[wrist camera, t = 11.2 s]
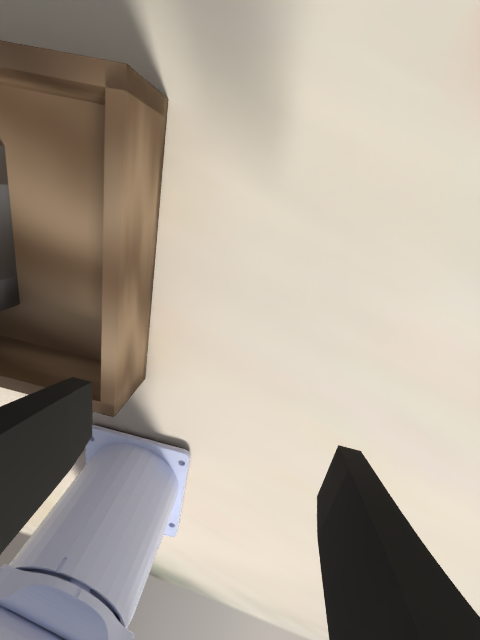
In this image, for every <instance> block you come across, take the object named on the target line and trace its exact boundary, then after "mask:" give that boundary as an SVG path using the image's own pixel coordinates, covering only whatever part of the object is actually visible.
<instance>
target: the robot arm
mask: <svg viewBox="0 0 480 640" xmlns="http://www.w3.org/2000/svg"><path fill="white" fill-rule="evenodd" d="M85 447H86V465H85V467H84V468H83V469H82V471H81V472H80V473H79V475H78V476H77V477H76V478H75V480H74V481H73V482H72V484H71V485H70V486H69V488H68V489H67V490H66V491H65V493H64V494H63V495H62V497H61V498H60V499H59V501H58V502H57V503H56V504H55V506H54V507H53V508H52V510H51V511H50V512H49V514H48V515H47V516H46V517H45V519H44V520H43V521H42V523H41V524H40V525H39V527H38V528H37V529H36V530H35V532H34V533H33V534H32V536H31V537H30V538H29V540H28V541H27V542H26V544H25V545H24V546H23V547H22V549H21V550H20V551H19V553H18V554H17V555H16V557H15V558H14V559H13V560H12V562H11V563H10V564H9V565H7V564H4V565H2V567H1V568H0V640H133V639H134V636H135V635H134V633H133V632H131V631H130V630H128V629H127V628H128V625H129V623H130V621H131V619H132V617H133V615H134V612H135V610H136V607H137V604H138V602H139V599H140V596H141V594H142V591H143V588H144V586H145V583H146V580H147V578H148V575H149V572H150V570H151V567H152V564H153V562H154V559H155V556H156V554H157V551H158V548H159V546H160V543H161V540H162V538H163V535H167V536H170V537H174V536H176V534H177V531H178V527H179V521H180V515H181V509H182V503H183V497H184V492H185V486H186V480H187V474H188V468H189V462H190V457H191V455H190V452H189V451H187V450H185V449H182V448H178V447H175V446H171V445H167V444H163V443H160V442H156V441H152V440H149V439H145V438H141V437H137V436H134V435H130V434H126V433H122V432H119V431H115V430H111V429H108V428H104V427H100V426H96V425H92V382H90V381H86V380H82V379H78V378H74V377H72V378H69V379H66V380H64V381H61V382H58V383H56V384H54V385H51V386H49V387H46V388H44V389H42V390H39V391H37V392H34V393H32V394H30V395H27V396H25V397H23V398H20V399H18V400H15V401H13V402H11V403H8V404H6V405H3V406H1V407H0V554H1V553H2V552H3V551H4V549H5V548H6V547H7V546H8V544H9V543H10V542H11V541H12V540H13V538H14V537H15V536H16V535H17V534H18V532H19V531H20V530H21V529H22V528H23V526H24V525H25V524H26V523H27V522H28V520H29V519H30V518H31V517H32V516H33V514H34V513H35V512H36V511H37V510H38V508H39V507H40V506H41V505H42V504H43V502H44V501H45V500H46V499H47V497H48V496H49V495H50V494H51V493H52V491H53V490H54V489H55V488H56V487H57V485H58V484H59V483H60V482H61V480H62V479H63V478H64V477H65V475H66V474H67V473H68V472H69V470H70V469H71V468H72V466H73V465H74V463H75V462H76V460H77V459H78V457H79V456H80V454H81V453H82V451H83V450H84V448H85ZM181 460H182V461H181ZM317 534H318V546H319V555H320V564H321V573H322V581H323V590H324V598H325V606H326V615H327V623H328V632H329V640H480V617H479V616H478V615H477V613H476V612H475V611H474V610H473V608H472V607H471V606H470V605H469V603H468V602H467V601H466V600H465V598H464V597H463V596H462V594H461V593H460V592H459V590H458V589H457V588H456V587H455V585H454V584H453V583H452V581H451V580H450V579H449V577H448V576H447V575H446V573H445V572H444V571H443V569H442V568H441V567H440V565H439V564H438V563H437V561H436V560H435V559H434V557H433V556H432V555H431V553H430V552H429V550H428V549H427V548H426V546H425V545H424V544H423V542H422V541H421V539H420V538H419V537H418V535H417V534H416V532H415V531H414V530H413V528H412V527H411V525H410V524H409V522H408V521H407V519H406V518H405V517H404V515H403V514H402V512H401V511H400V509H399V508H398V506H397V505H396V503H395V502H394V500H393V499H392V497H391V496H390V494H389V493H388V491H387V490H386V488H385V487H384V485H383V484H382V482H381V481H380V479H379V478H378V476H377V475H376V473H375V472H374V470H373V469H372V467H371V466H370V464H369V463H368V461H367V460H366V458H365V457H364V455H363V454H362V452H361V451H358V450H354V449H351V448H347V447H343V446H339V445H338V448H337V450H336V452H335V455H334V457H333V460H332V462H331V464H330V467H329V469H328V472H327V474H326V476H325V479H324V481H323V484H322V486H321V488H320V491H319V493H318V496H317Z"/></svg>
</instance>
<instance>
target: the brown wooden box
mask: <svg viewBox="0 0 480 640" xmlns="http://www.w3.org/2000/svg"><path fill="white" fill-rule="evenodd" d="M167 109H168V98H166V97H165V96H164V95H163V94H162V93H161V92H159V91H158V90H157V89H156V88H155V87H154V86H152V85H151V84H150V83H149V82H148V81H147V80H145V79H144V78H143V77H142V76H141V75H139V74H138V73H137V72H136V71H135V70H134V69H132V68H131V67H130V66H129V65H128V64H125V63H119V62H114V61H109V60H103V59H98V58H92V57H87V56H81V55H76V54H71V53H65V52H60V51H54V50H49V49H43V48H38V47H33V46H27V45H22V44H16V43H11V42H5V41H0V387H2V388H6V389H10V390H14V391H17V392H21V393H25V394H29V395H30V394H32V393H34V392H37V391H39V390H42V389H44V388H46V387H49V386H51V385H54V384H56V383H58V382H61V381H64V380H66V379H69V378H72V377H74V378H78V379H82V380H86V381H90V382H92V411H93V412H97V413H100V414H104V415H108V416H112V417H114V416H115V415H116V414H117V413H118V411H119V410H120V409H121V408H122V407H123V405H124V404H125V403H126V402H127V400H128V399H129V398H130V397H131V395H132V394H133V393H134V392H135V390H136V389H137V388H138V387H139V386H140V384H141V383H142V382H143V381H144V379H145V375H146V363H147V351H148V339H149V327H150V315H151V302H152V290H153V278H154V266H155V254H156V242H157V230H158V218H159V206H160V194H161V181H162V169H163V157H164V145H165V133H166V121H167Z"/></svg>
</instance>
